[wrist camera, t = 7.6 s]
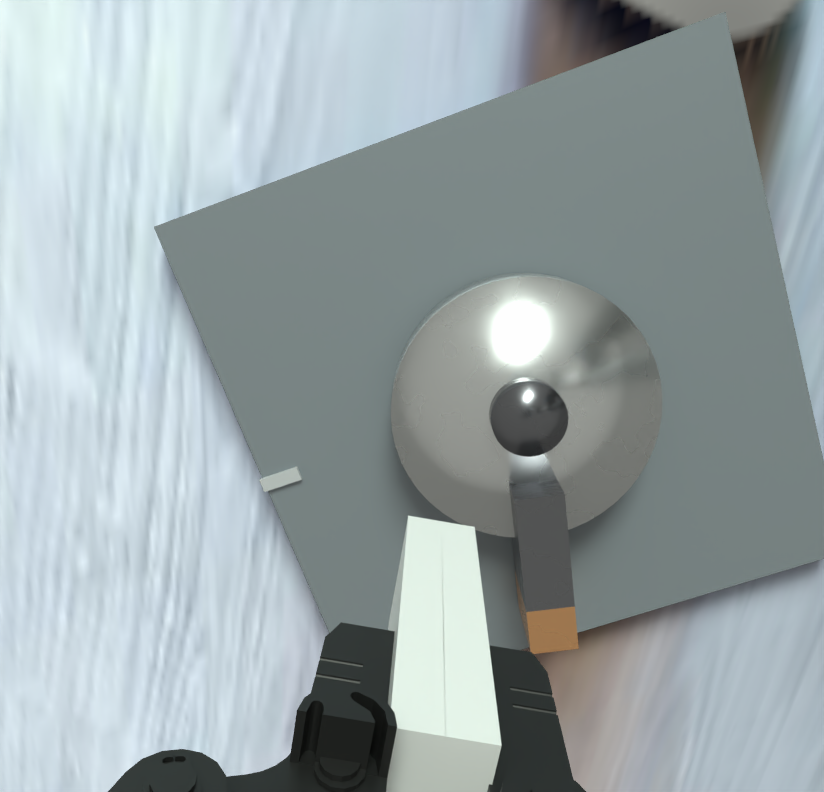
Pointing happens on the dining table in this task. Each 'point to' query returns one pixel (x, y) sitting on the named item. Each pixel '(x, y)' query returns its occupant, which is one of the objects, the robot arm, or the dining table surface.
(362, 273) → the dial board
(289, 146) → the dining table surface
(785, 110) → the dining table surface
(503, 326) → the dial
